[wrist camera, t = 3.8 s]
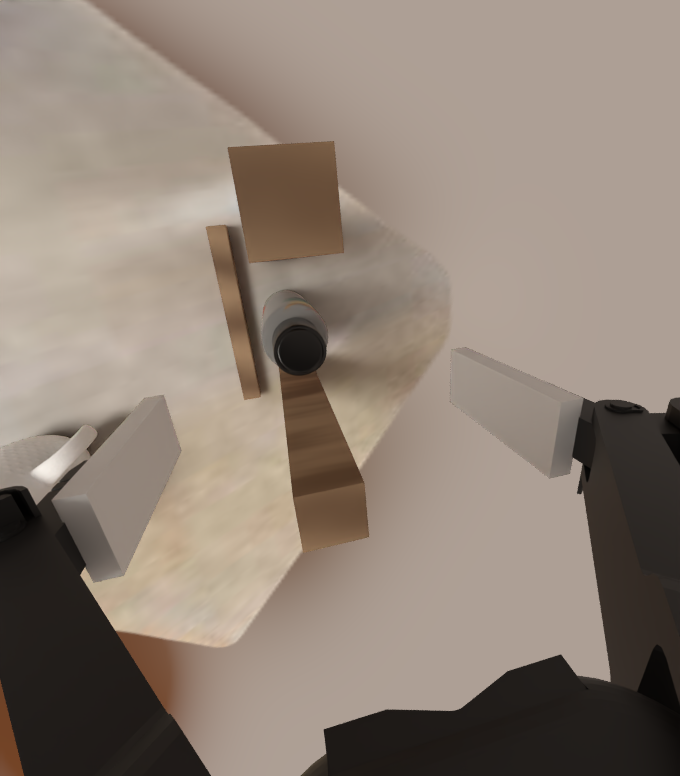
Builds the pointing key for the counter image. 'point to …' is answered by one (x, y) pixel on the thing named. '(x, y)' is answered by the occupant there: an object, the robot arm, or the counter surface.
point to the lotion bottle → (293, 333)
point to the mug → (43, 460)
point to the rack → (299, 393)
